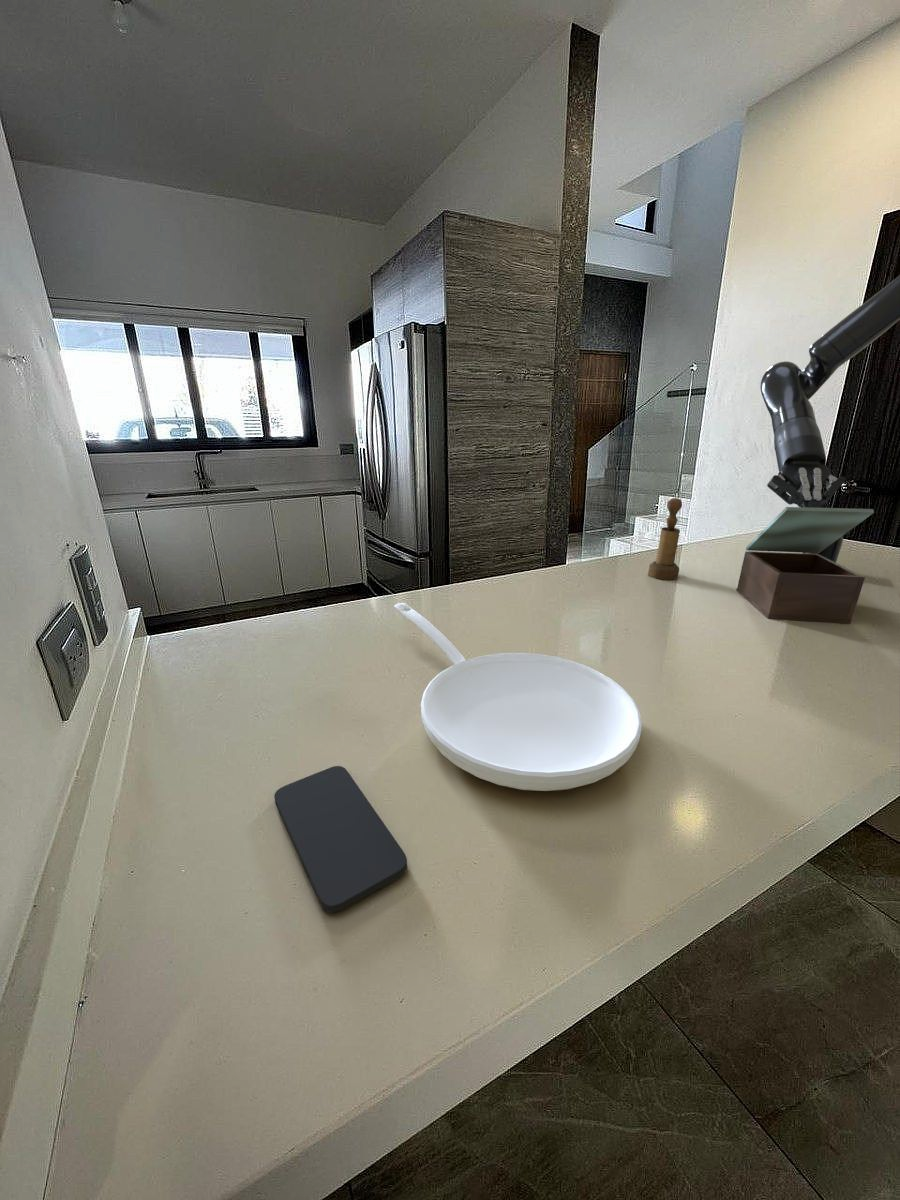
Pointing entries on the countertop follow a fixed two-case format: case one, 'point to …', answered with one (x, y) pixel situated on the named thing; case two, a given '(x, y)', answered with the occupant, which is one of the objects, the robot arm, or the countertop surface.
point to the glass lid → (807, 529)
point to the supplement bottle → (832, 550)
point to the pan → (527, 717)
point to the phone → (339, 838)
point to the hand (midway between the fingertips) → (813, 521)
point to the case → (799, 586)
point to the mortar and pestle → (667, 546)
